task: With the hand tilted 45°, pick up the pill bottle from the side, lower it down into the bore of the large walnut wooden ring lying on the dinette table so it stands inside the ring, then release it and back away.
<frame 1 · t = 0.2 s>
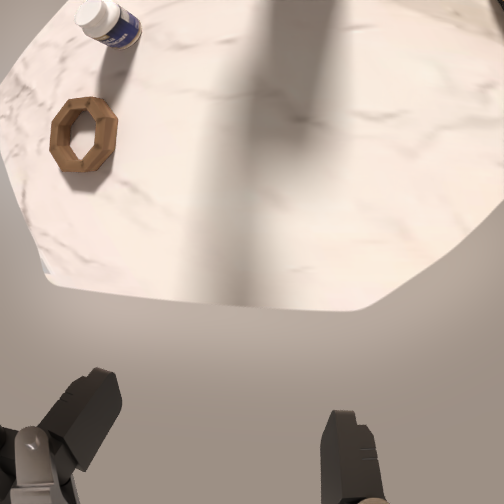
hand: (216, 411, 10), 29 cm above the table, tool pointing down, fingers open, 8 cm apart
pill bottle: (126, 34, 32), on the table
walnut ring: (87, 134, 36), on the table
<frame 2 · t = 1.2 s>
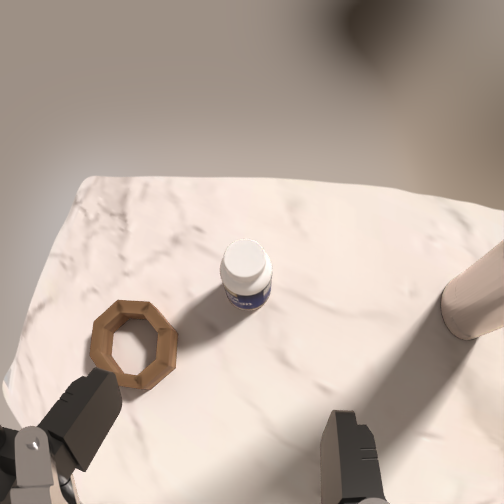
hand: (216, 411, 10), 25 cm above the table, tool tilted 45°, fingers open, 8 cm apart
pill bottle: (248, 290, 38), on the table
walnut ring: (137, 347, 35), on the table
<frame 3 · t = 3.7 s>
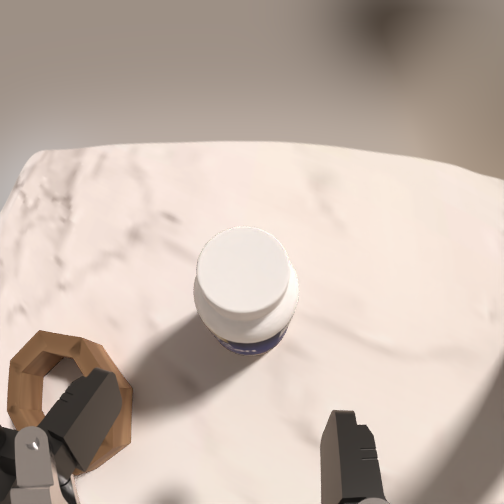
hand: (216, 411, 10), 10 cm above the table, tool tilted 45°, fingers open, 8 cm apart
pill bottle: (250, 320, 22), on the table
walnut ring: (74, 403, 19), on the table
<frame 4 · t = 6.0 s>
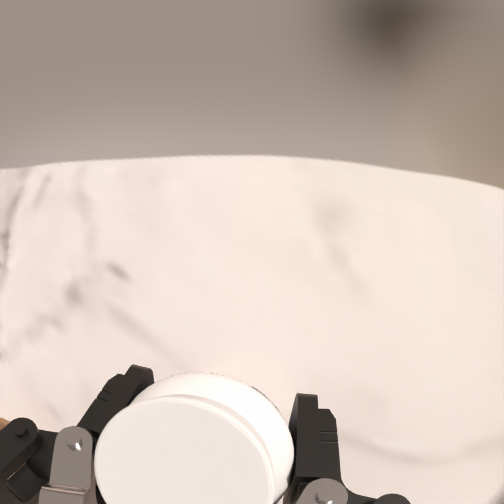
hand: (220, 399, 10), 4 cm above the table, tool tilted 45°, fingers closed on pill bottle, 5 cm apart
pill bottle: (226, 429, 14), on the table, touching gripper
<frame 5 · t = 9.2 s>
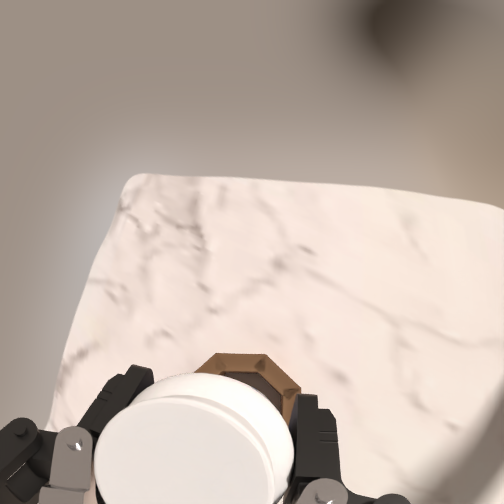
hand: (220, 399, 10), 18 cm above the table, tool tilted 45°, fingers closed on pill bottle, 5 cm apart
pill bottle: (225, 429, 14), point 13 cm above the table, touching gripper
walnut ring: (241, 409, 26), on the table
when the fingers open (5 cm above the table, at t = 12.4 s): pill bottle drops 1 cm, resting in walnut ring.
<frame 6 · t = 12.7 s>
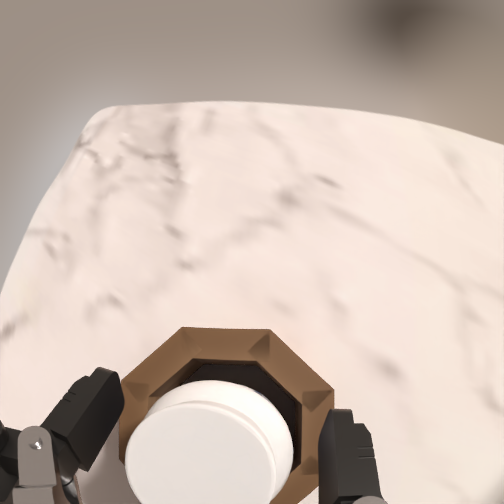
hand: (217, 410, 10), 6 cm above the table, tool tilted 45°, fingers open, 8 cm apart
pill bottle: (231, 429, 15), resting in walnut ring
walnut ring: (228, 426, 15), on the table
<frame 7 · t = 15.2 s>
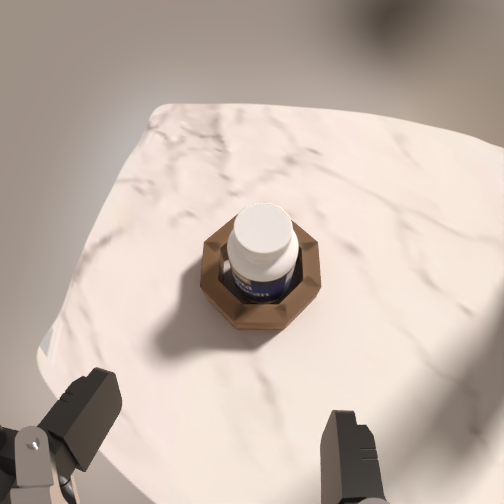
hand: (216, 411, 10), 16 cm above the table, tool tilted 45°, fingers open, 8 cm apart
pill bottle: (262, 279, 29), resting in walnut ring
walnut ring: (260, 276, 29), on the table
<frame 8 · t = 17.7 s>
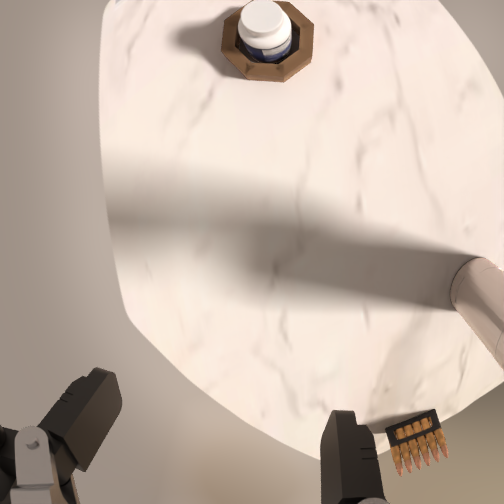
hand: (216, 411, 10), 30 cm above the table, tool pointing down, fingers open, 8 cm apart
ammunition clip: (410, 420, 48), on the table
pill bottle: (269, 46, 31), resting in walnut ring
walnut ring: (269, 43, 31), on the table
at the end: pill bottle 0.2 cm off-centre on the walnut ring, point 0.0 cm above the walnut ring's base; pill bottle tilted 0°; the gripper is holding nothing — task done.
